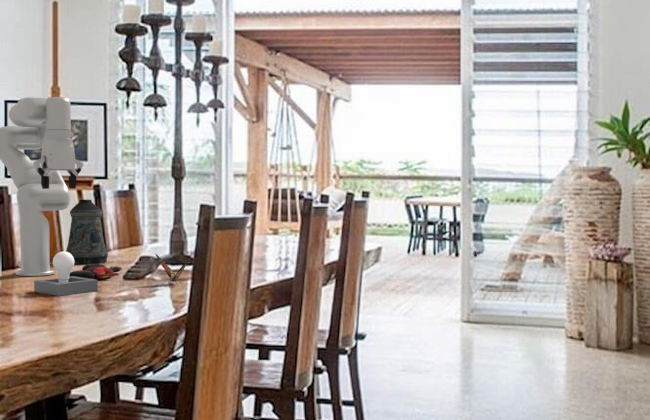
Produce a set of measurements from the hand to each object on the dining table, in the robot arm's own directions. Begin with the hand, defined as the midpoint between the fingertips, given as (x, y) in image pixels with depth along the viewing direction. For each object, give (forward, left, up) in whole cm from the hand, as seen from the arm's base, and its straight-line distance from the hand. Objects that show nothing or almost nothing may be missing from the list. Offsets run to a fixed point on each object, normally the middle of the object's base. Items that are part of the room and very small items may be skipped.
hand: (59, 188), depth 247 cm
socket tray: (+21, -11, -30) cm, 38 cm away
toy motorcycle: (+1, +14, -31) cm, 34 cm away
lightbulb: (+21, -12, -30) cm, 38 cm away
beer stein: (-43, +37, -31) cm, 64 cm away
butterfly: (+34, +19, -31) cm, 49 cm away
